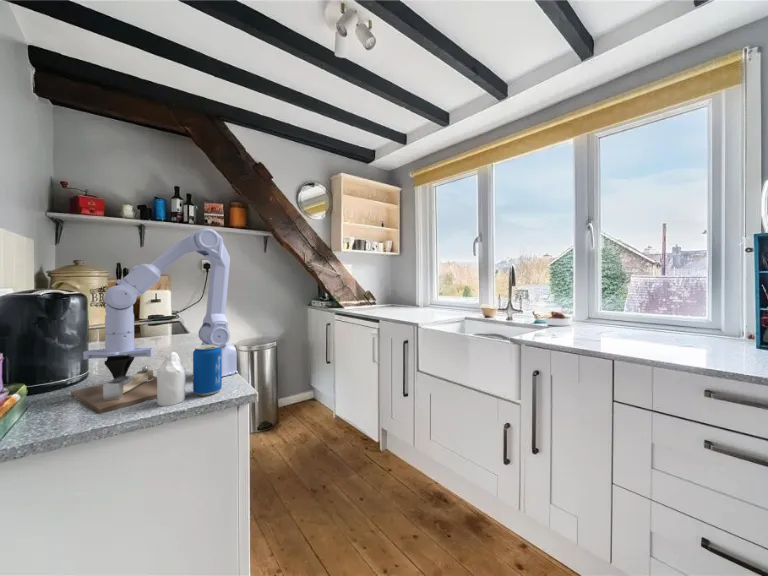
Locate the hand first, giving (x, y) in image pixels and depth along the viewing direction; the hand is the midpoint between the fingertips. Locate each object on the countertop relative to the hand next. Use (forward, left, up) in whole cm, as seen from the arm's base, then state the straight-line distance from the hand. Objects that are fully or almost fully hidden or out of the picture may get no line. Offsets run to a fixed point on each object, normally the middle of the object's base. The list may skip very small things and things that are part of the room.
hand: (120, 385), depth 81 cm
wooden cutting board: (-1, +2, -2) cm, 3 cm away
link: (-3, 0, -1) cm, 3 cm away
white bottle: (-5, +17, -2) cm, 17 cm away
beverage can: (-13, +18, -2) cm, 22 cm away
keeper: (-2, +1, -1) cm, 3 cm away
